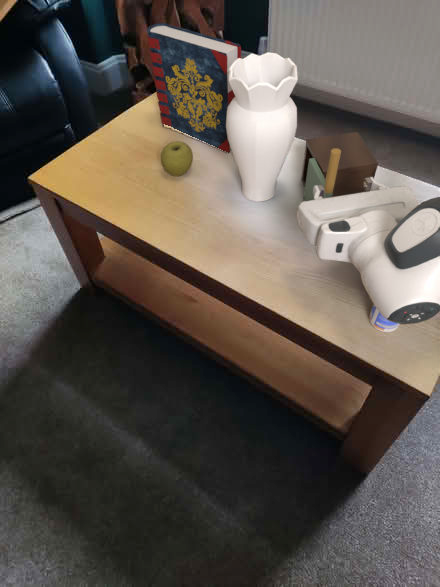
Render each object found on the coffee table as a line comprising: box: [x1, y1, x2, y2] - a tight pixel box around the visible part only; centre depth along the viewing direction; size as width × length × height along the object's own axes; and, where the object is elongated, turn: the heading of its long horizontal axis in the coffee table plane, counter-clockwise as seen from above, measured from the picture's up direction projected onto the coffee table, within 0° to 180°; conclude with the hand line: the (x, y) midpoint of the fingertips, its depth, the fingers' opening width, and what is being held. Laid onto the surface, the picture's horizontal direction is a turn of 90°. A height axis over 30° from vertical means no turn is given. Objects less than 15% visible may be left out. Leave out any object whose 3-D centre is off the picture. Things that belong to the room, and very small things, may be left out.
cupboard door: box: [303, 148, 341, 201], centre depth 89 cm, size 2×12×20 cm, turn 10°
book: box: [146, 22, 242, 154], centre depth 109 cm, size 25×7×25 cm, turn 53°
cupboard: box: [300, 131, 379, 197], centre depth 97 cm, size 12×12×11 cm
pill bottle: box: [369, 304, 401, 333], centre depth 75 cm, size 5×5×10 cm
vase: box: [226, 51, 299, 203], centre depth 92 cm, size 15×15×29 cm
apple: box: [160, 141, 194, 177], centre depth 106 cm, size 8×8×7 cm
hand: (342, 184), depth 78 cm, fingers open, 8 cm apart
